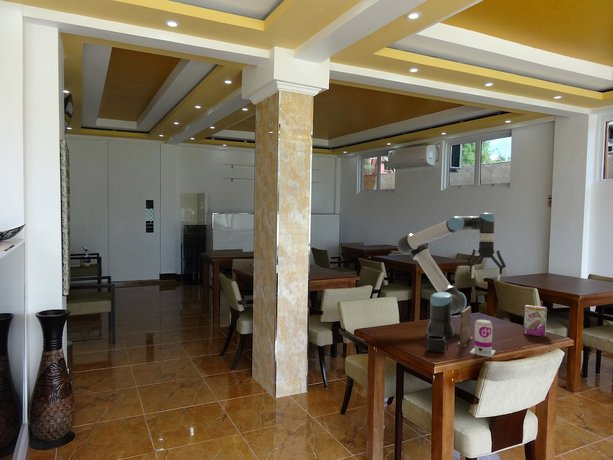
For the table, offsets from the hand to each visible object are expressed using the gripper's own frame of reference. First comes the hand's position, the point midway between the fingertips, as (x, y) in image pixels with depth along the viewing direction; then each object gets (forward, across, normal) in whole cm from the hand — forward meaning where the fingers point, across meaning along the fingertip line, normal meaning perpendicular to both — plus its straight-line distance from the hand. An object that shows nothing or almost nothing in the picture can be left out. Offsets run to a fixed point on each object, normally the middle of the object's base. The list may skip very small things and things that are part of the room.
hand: (485, 279), depth 248 cm
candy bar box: (+33, +23, +22) cm, 46 cm away
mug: (+33, -14, -40) cm, 54 cm away
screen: (+33, -6, -16) cm, 37 cm away
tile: (+33, +5, -29) cm, 44 cm away
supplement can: (+32, +5, -29) cm, 44 cm away
